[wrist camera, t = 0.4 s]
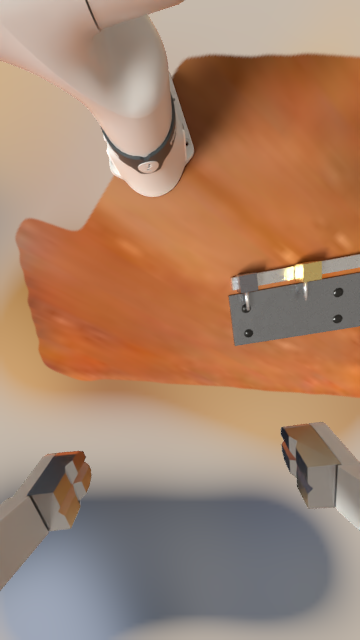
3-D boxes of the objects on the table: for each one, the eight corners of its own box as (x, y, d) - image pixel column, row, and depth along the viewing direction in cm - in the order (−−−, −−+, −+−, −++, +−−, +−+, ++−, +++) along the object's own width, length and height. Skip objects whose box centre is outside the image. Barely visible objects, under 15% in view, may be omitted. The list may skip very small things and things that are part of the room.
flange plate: (228, 295, 51) (229, 296, 50) (375, 269, 48) (377, 269, 48) (234, 344, 55) (235, 345, 54) (371, 323, 52) (373, 324, 51)
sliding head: (294, 264, 47) (303, 264, 43) (312, 261, 46) (321, 260, 43) (295, 301, 49) (303, 303, 46) (312, 298, 49) (321, 300, 45)
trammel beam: (230, 275, 50) (234, 276, 45) (372, 249, 47) (393, 247, 42) (234, 309, 52) (238, 314, 47) (369, 286, 49) (389, 288, 45)
